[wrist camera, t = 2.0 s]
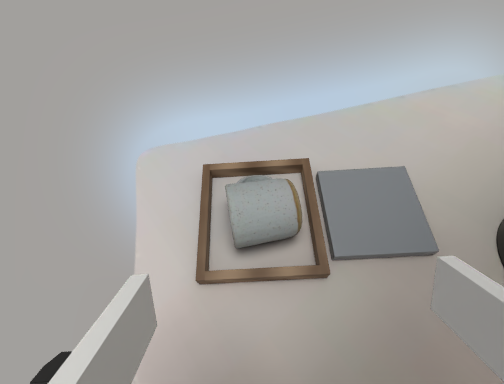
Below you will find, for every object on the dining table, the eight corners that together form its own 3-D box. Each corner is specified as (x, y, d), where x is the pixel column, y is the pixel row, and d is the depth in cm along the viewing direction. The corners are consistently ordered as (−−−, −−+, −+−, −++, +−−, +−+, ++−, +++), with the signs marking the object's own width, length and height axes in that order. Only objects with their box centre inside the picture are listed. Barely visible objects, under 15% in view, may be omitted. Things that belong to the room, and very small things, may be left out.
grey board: (399, 172, 38) (404, 166, 37) (432, 254, 32) (439, 251, 30) (315, 177, 38) (317, 171, 37) (332, 260, 32) (334, 256, 31)
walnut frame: (306, 166, 39) (308, 158, 37) (326, 277, 31) (330, 273, 29) (205, 172, 39) (203, 164, 38) (199, 284, 31) (195, 280, 30)
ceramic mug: (301, 243, 33) (309, 216, 27) (237, 257, 33) (229, 233, 26) (279, 176, 39) (281, 140, 32) (224, 187, 38) (215, 152, 32)
